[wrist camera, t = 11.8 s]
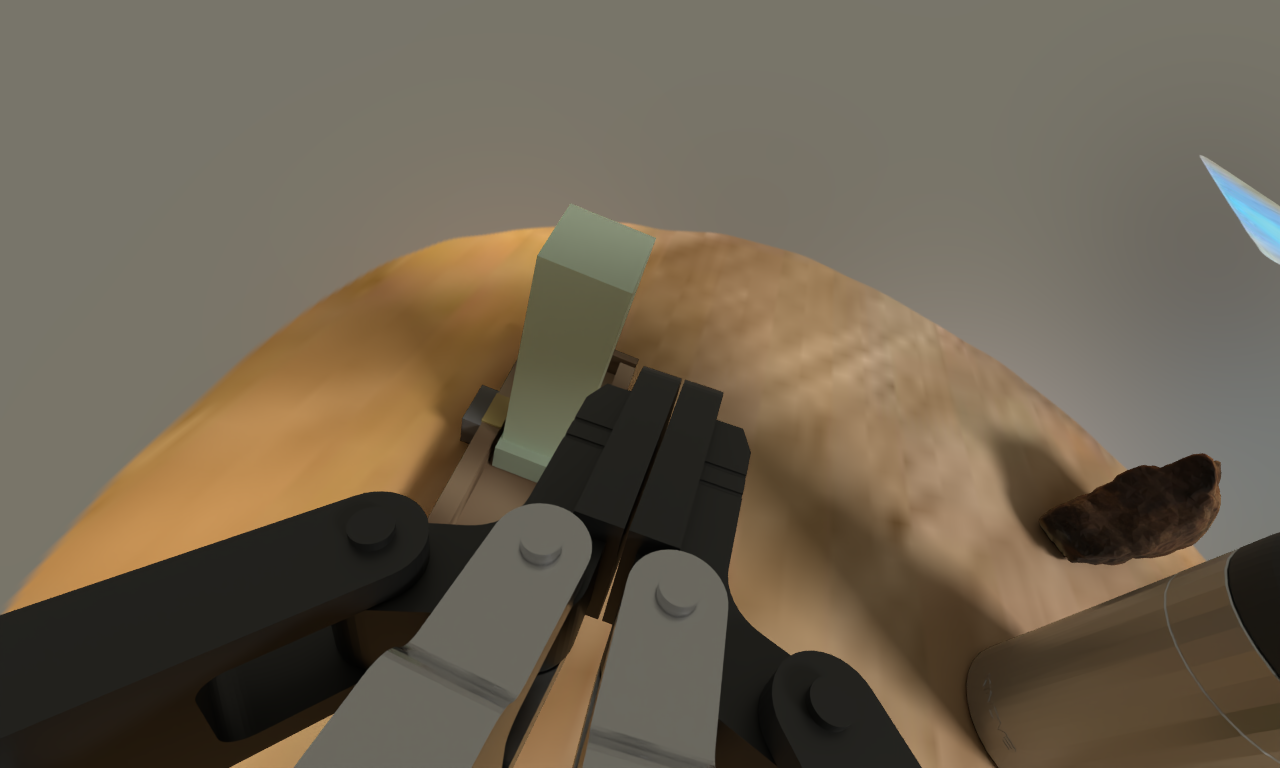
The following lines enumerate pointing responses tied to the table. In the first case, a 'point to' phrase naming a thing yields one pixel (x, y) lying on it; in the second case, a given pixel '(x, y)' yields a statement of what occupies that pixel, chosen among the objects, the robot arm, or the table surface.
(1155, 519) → the decorative rock
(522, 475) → the block
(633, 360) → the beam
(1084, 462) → the table surface
